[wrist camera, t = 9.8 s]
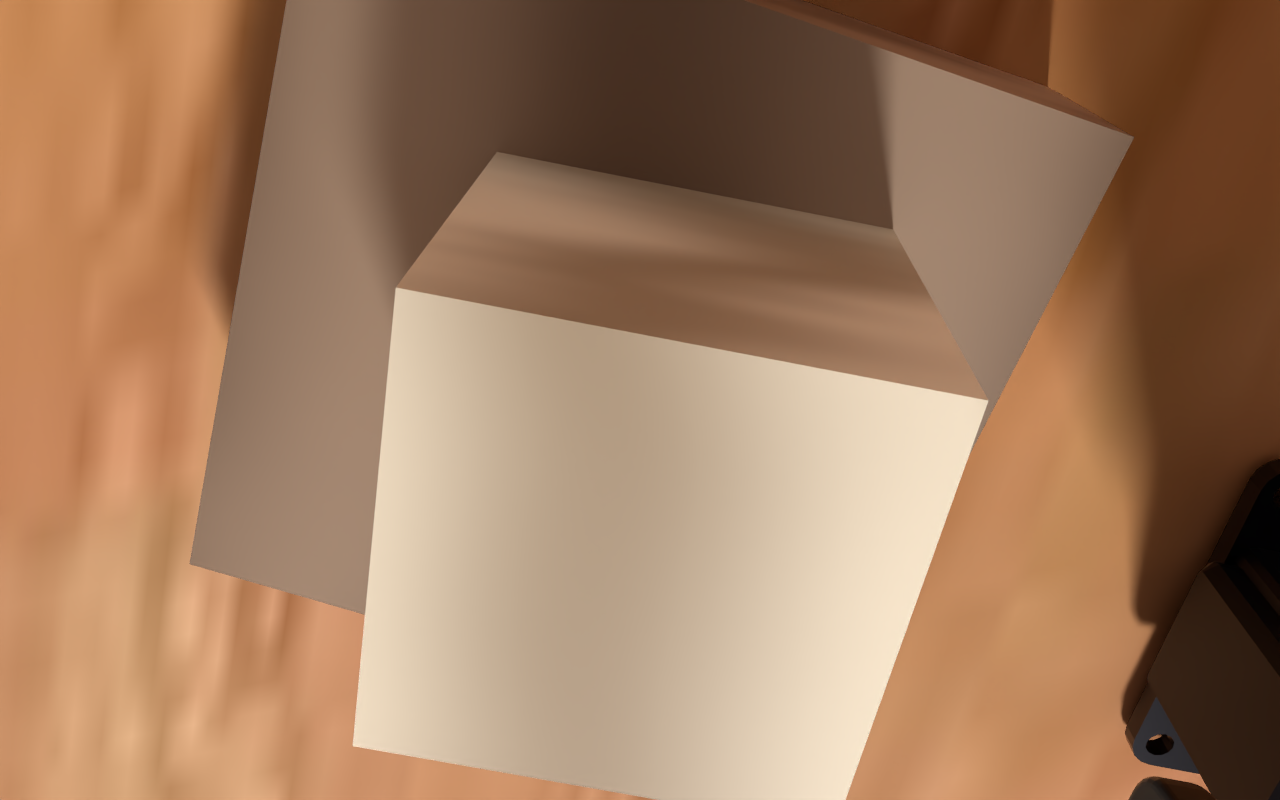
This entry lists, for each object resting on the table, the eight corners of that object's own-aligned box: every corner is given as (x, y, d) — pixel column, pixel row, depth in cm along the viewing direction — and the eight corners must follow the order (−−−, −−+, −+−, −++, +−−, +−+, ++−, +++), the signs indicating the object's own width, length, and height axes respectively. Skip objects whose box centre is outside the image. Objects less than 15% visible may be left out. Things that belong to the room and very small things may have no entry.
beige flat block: (1040, 82, 17) (1134, 137, 13) (798, 596, 21) (818, 745, 17) (400, -144, 16) (312, -151, 12) (281, 440, 20) (189, 564, 16)
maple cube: (893, 229, 14) (988, 401, 9) (796, 559, 16) (834, 831, 11) (497, 152, 14) (395, 287, 9) (453, 496, 16) (352, 746, 11)
